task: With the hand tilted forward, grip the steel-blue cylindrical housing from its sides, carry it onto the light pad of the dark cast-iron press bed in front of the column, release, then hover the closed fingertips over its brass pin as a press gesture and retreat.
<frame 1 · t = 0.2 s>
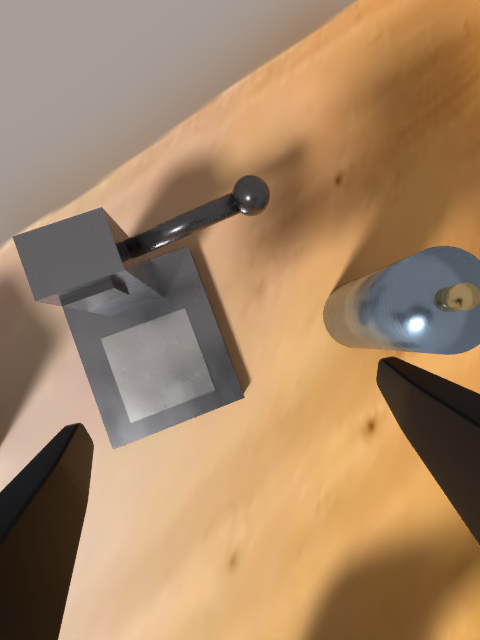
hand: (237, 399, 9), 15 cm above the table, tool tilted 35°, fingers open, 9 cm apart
press bed: (155, 344, 23), on the table
housing: (355, 315, 24), on the table
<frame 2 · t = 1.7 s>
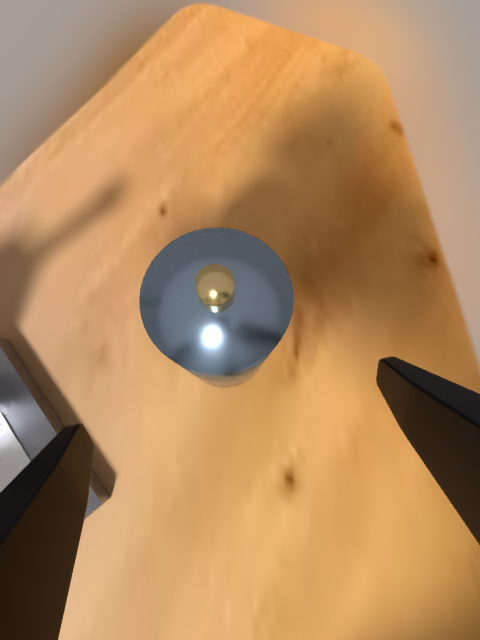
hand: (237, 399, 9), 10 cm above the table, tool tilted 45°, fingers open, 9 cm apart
housing: (225, 347, 20), on the table
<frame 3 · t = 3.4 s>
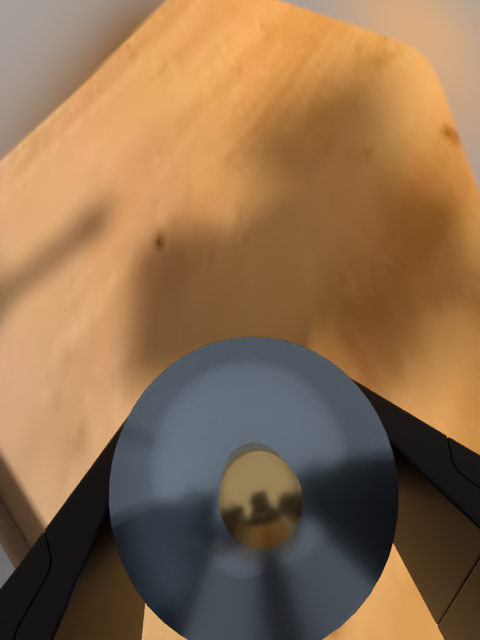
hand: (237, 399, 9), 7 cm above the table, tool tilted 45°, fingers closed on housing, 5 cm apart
housing: (241, 427, 15), on the table, touching gripper
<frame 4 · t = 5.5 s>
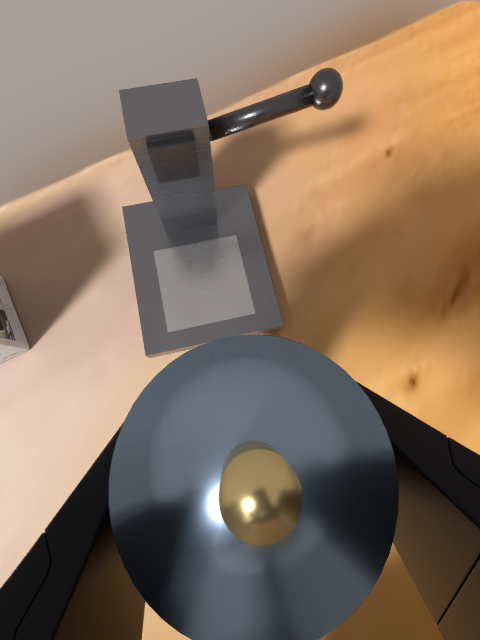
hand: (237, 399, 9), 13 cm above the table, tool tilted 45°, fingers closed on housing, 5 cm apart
press bed: (201, 270, 24), on the table
housing: (241, 426, 15), point 7 cm above the table, touching gripper
when the fingers open (9 cm above the table, at t = 7.7 s): housing drops 1 cm, resting on press bed.
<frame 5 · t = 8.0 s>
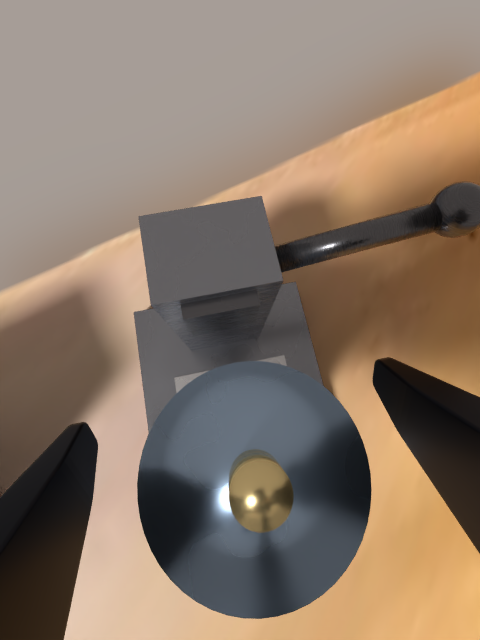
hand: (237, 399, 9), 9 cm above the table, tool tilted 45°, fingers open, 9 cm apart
press bed: (235, 396, 18), on the table
housing: (240, 428, 16), point 1 cm above the table, touching press bed
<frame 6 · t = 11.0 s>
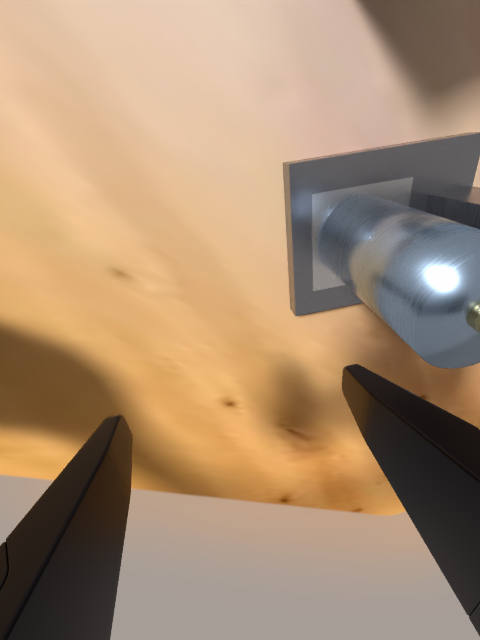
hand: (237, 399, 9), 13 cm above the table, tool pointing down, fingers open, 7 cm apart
press bed: (370, 229, 21), on the table
housing: (357, 237, 20), point 1 cm above the table, touching press bed
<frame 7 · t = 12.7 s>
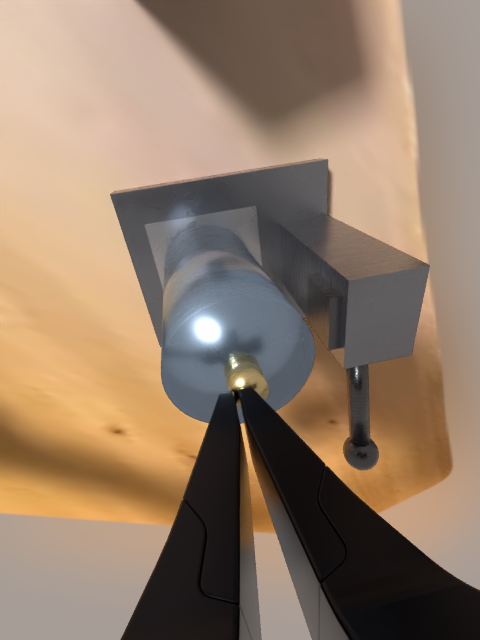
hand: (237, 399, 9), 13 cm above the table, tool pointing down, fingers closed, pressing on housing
press bed: (232, 257, 20), on the table
housing: (207, 267, 19), point 1 cm above the table, touching gripper, press bed
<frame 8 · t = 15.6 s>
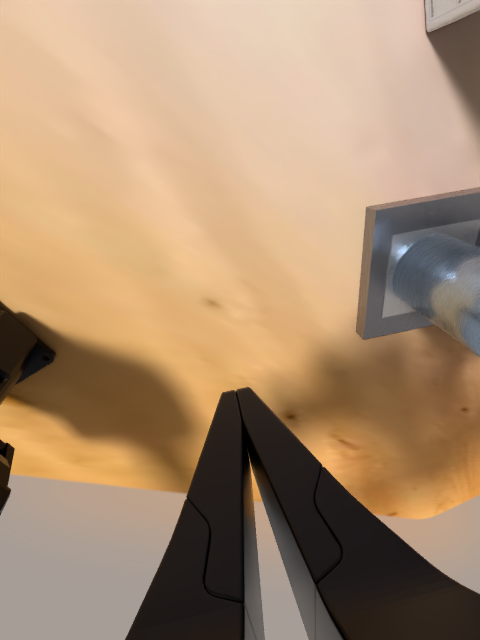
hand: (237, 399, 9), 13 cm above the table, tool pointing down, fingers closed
press bed: (435, 262, 23), on the table
housing: (427, 271, 22), point 1 cm above the table, touching press bed
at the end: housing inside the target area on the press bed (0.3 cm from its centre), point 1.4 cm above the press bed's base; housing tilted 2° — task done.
